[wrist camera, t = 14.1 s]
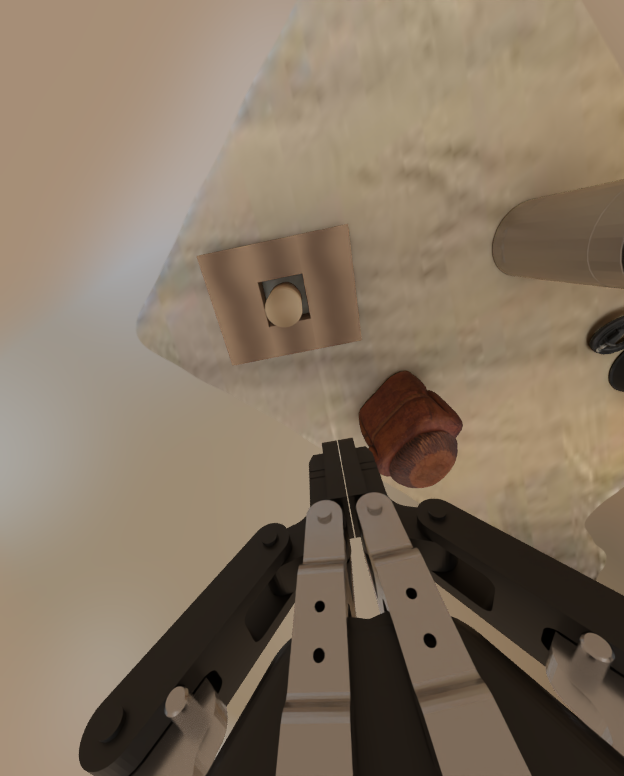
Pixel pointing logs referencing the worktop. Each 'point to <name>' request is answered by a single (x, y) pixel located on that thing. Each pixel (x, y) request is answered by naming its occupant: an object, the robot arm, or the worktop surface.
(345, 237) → the wooden board with hole
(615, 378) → the milk frother
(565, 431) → the worktop surface
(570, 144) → the worktop surface
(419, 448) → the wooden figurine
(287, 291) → the beech peg
